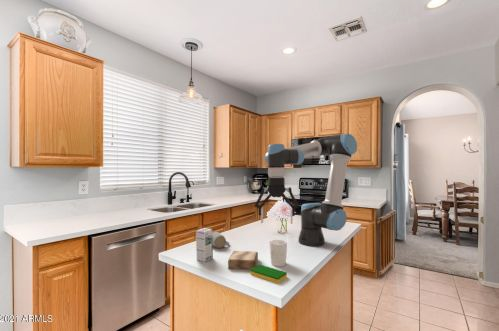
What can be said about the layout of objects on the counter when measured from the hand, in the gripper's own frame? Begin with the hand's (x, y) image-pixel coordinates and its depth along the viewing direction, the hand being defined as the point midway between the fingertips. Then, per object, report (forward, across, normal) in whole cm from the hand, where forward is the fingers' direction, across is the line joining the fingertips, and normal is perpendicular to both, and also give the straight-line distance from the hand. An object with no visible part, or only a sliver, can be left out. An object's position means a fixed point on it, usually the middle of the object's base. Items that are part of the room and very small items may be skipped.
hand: (276, 222), depth 115 cm
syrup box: (+19, +35, -1) cm, 40 cm away
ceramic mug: (+19, +33, -22) cm, 44 cm away
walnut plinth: (+19, +15, +2) cm, 24 cm away
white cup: (+19, -1, 0) cm, 19 cm away
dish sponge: (+20, +3, +13) cm, 24 cm away
